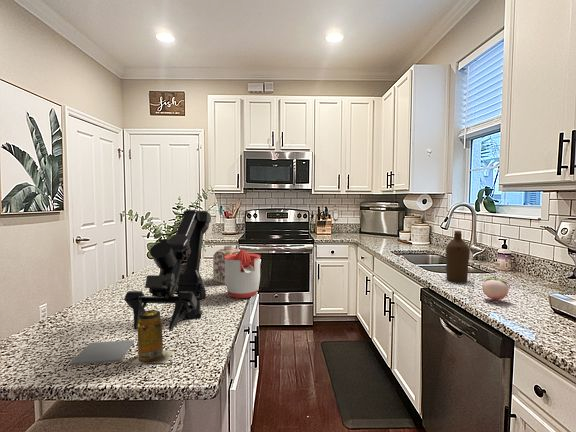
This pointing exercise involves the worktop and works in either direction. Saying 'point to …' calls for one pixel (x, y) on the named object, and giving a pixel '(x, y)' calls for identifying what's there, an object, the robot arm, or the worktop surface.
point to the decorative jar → (222, 262)
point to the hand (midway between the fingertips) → (152, 329)
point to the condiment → (151, 339)
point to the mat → (103, 352)
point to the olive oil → (457, 259)
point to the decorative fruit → (495, 288)
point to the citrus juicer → (242, 274)
